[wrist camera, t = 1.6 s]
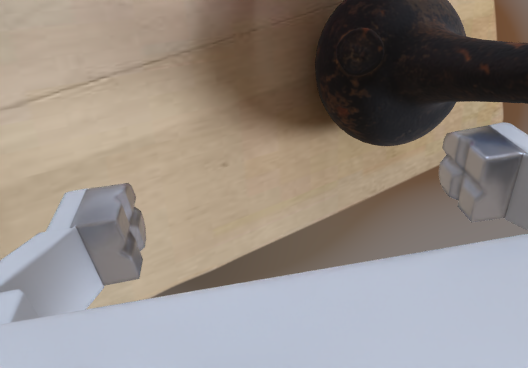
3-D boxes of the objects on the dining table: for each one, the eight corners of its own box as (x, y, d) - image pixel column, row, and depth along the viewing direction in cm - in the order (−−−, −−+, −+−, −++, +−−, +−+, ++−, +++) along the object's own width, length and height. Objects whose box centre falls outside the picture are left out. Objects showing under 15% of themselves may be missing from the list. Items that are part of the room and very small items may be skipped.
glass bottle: (317, -32, 47) (562, -142, 22) (433, 16, 54) (720, -25, 29) (279, 120, 50) (452, 179, 25) (393, 146, 57) (617, 213, 32)
